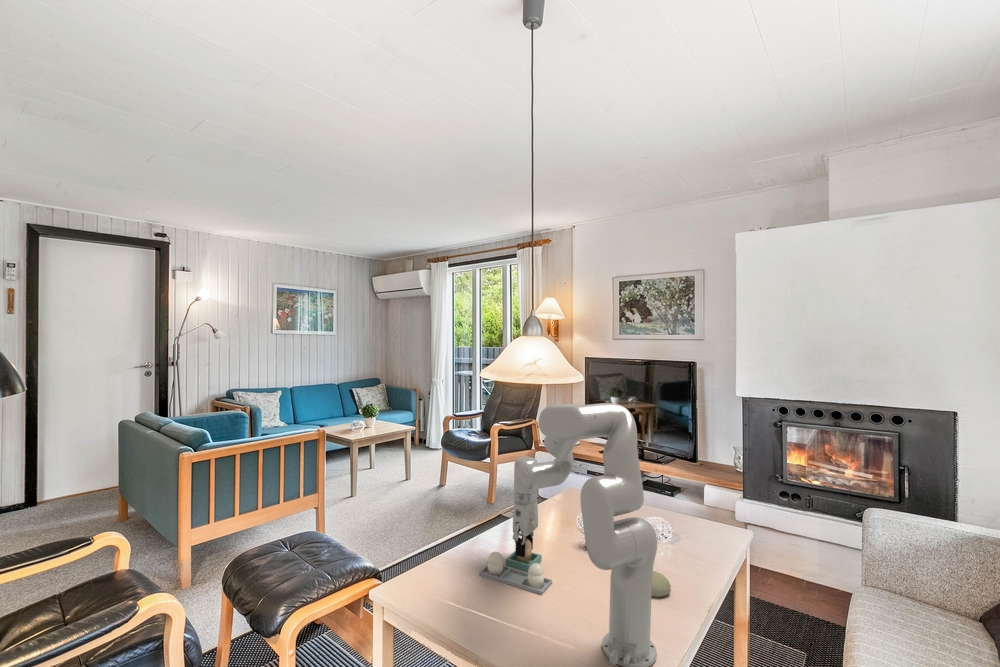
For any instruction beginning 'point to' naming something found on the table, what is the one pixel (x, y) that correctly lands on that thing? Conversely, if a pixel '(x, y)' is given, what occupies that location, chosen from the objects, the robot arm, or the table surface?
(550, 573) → the table surface
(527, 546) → the brown egg
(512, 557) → the egg holder
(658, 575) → the sea urchin shell
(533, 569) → the cream egg right
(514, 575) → the egg carton
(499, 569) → the cream egg left
